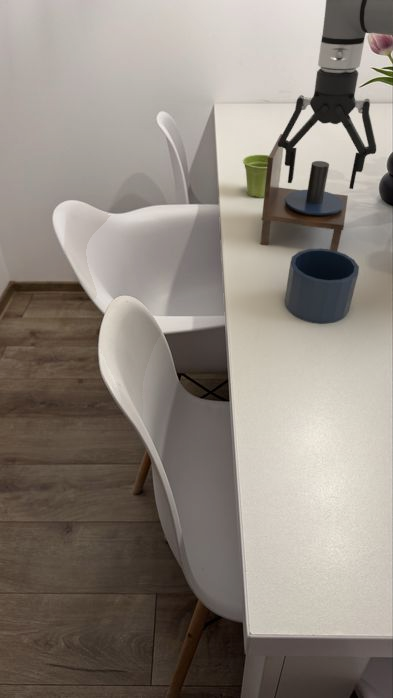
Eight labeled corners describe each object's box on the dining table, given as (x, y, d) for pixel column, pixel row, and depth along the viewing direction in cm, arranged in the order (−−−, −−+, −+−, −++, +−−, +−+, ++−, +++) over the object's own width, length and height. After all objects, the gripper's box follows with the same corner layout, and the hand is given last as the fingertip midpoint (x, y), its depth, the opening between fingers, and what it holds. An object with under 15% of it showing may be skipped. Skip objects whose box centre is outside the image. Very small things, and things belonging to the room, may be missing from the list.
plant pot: (251, 203, 124) (254, 169, 119) (234, 189, 131) (236, 157, 125) (282, 197, 127) (287, 164, 122) (264, 184, 134) (267, 152, 128)
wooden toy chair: (341, 223, 115) (359, 141, 103) (337, 255, 104) (356, 166, 91) (271, 214, 119) (280, 133, 107) (259, 244, 107) (268, 157, 95)
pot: (349, 293, 93) (359, 253, 87) (346, 328, 84) (357, 287, 79) (289, 283, 95) (295, 244, 90) (280, 317, 87) (286, 276, 81)
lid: (344, 197, 110) (352, 157, 104) (340, 221, 101) (350, 178, 95) (288, 191, 113) (294, 151, 107) (280, 213, 103) (286, 171, 97)
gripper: (269, 70, 89) (260, 184, 103) (408, 75, 84) (379, 196, 98) (275, 62, 95) (267, 172, 109) (406, 67, 89) (379, 182, 103)
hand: (320, 183), depth 103 cm, fingers open, 12 cm apart
